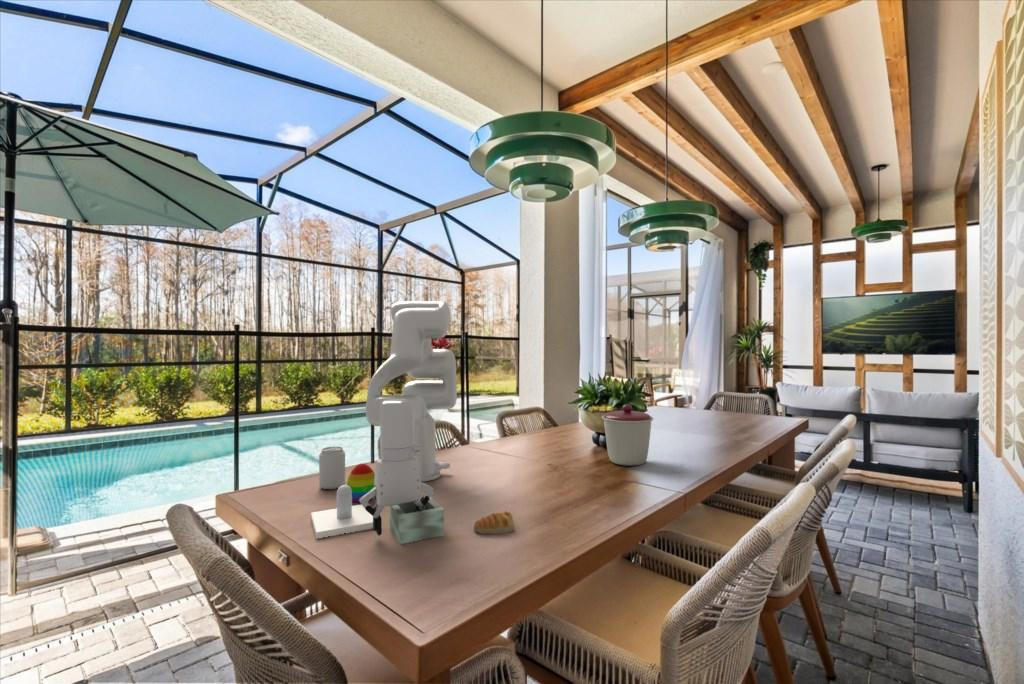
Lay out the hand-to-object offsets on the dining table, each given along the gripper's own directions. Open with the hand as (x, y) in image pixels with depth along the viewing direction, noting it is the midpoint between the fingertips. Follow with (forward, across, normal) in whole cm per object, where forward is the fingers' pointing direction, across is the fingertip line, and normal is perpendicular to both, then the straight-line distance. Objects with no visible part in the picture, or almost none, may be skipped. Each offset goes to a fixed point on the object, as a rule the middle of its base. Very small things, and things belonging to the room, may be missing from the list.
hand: (398, 529), depth 108 cm
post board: (+1, +10, -14) cm, 17 cm away
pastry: (+2, -21, +8) cm, 23 cm away
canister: (+2, -89, -24) cm, 92 cm away
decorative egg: (+2, +3, -30) cm, 30 cm away
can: (+2, +9, -46) cm, 47 cm away
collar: (+1, -4, 0) cm, 4 cm away
